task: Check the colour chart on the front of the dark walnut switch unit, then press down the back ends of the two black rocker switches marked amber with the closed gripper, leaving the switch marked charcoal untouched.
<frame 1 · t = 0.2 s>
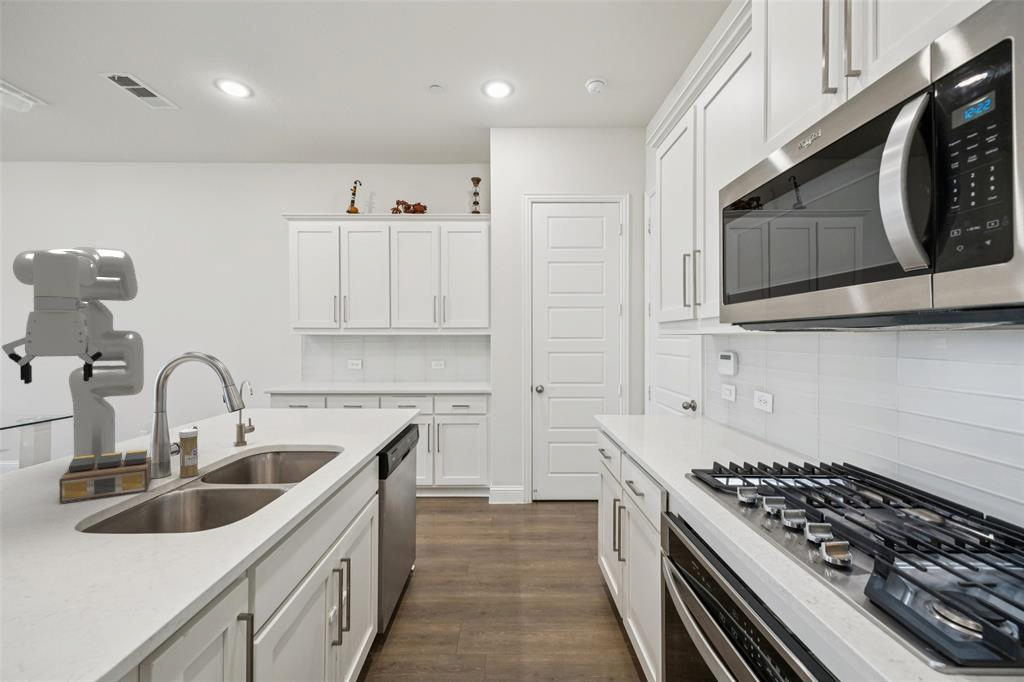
hand: (58, 382, 108), 31 cm above the countertop, tool pointing down, fingers open, 9 cm apart
sprinkles bottle: (188, 476, 140), on the countertop
rocker 1: (82, 464, 125), point 7 cm above the countertop, hinge at 10.0°
switch unit: (109, 489, 127), on the countertop
rocker 2: (109, 461, 128), point 7 cm above the countertop, hinge at 10.0°
rocker 3: (135, 458, 131), point 7 cm above the countertop, hinge at 10.0°
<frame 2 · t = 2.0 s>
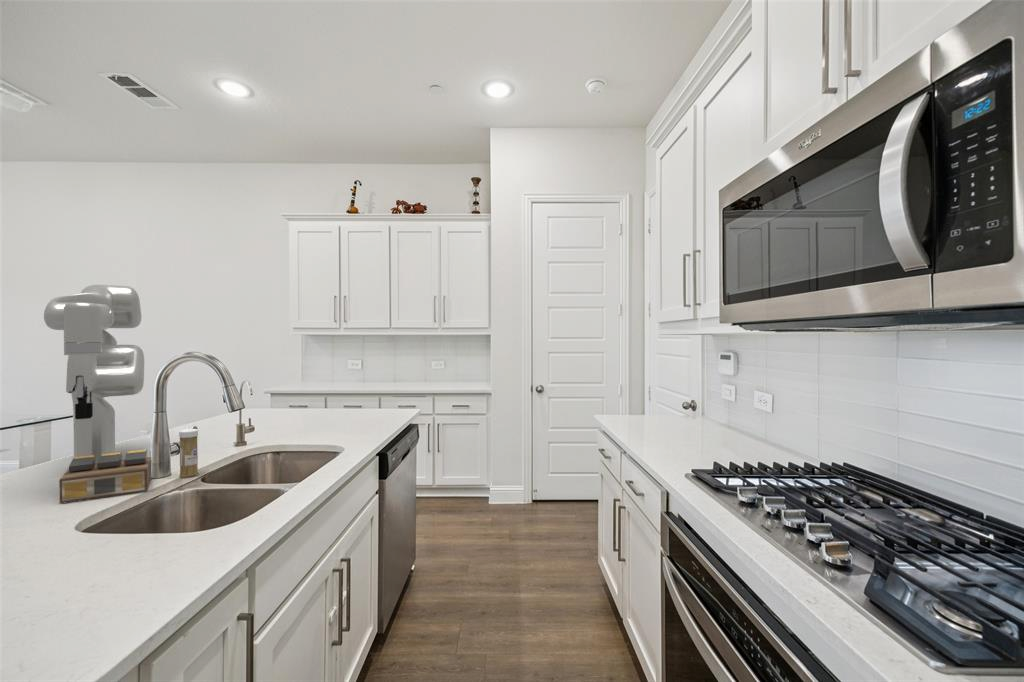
hand: (84, 418, 127), 19 cm above the countertop, tool pointing down, fingers closed
nothing on the countertop moved.
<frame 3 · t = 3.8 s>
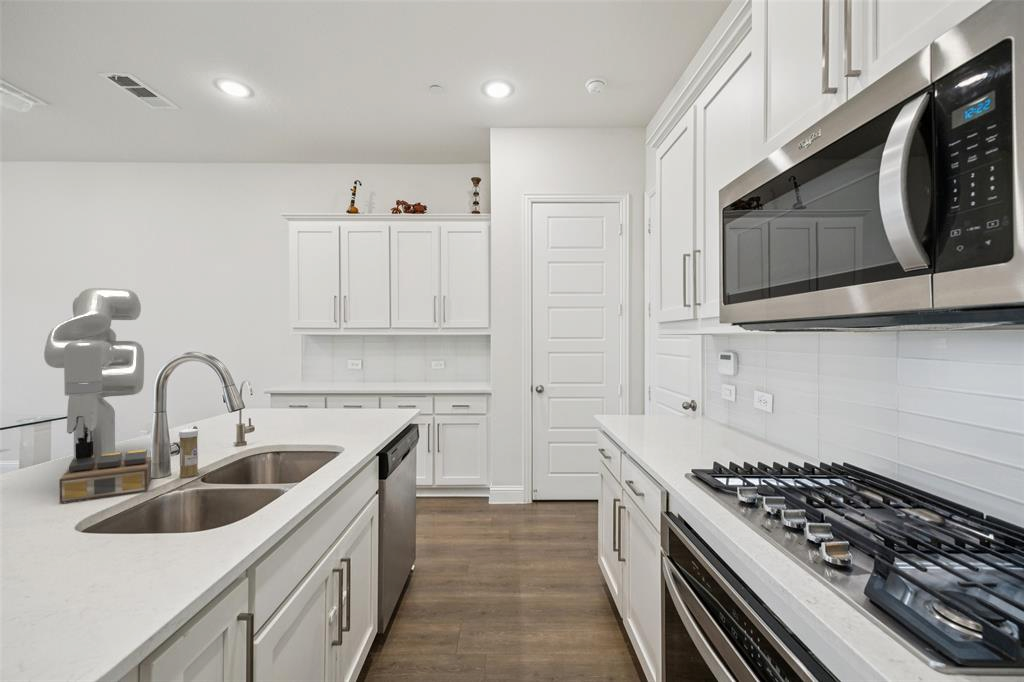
hand: (84, 456, 127), 9 cm above the countertop, tool pointing down, fingers closed
rocker 1: (82, 464, 125), point 7 cm above the countertop, hinge at 8.4°, touching gripper
everything else where it was.
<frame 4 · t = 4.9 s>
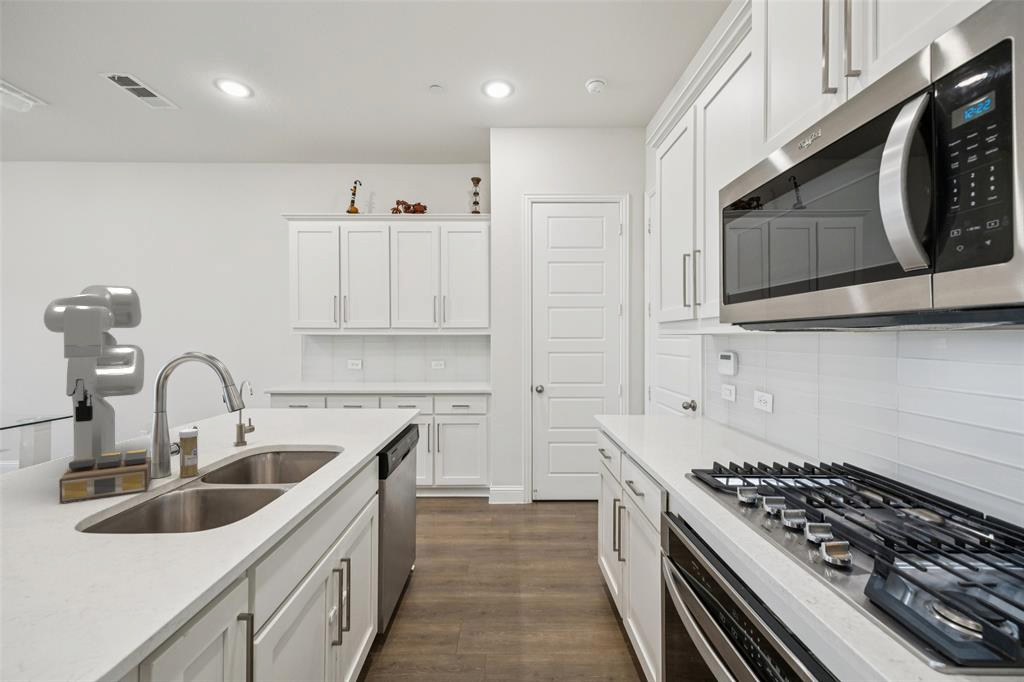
hand: (84, 420, 127), 18 cm above the countertop, tool pointing down, fingers closed
rocker 1: (82, 464, 125), point 7 cm above the countertop, hinge at -6.6°
everything else where it was.
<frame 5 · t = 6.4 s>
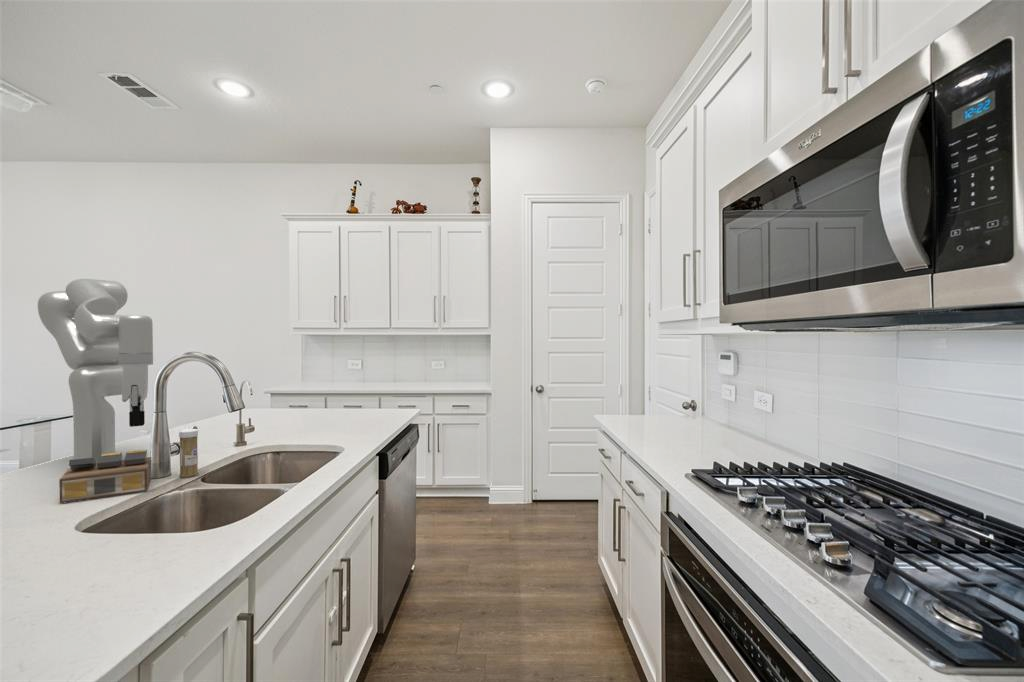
hand: (137, 425, 133), 16 cm above the countertop, tool pointing down, fingers closed
rocker 1: (82, 464, 125), point 7 cm above the countertop, hinge at -19.7°, touching switch unit
everything else where it was.
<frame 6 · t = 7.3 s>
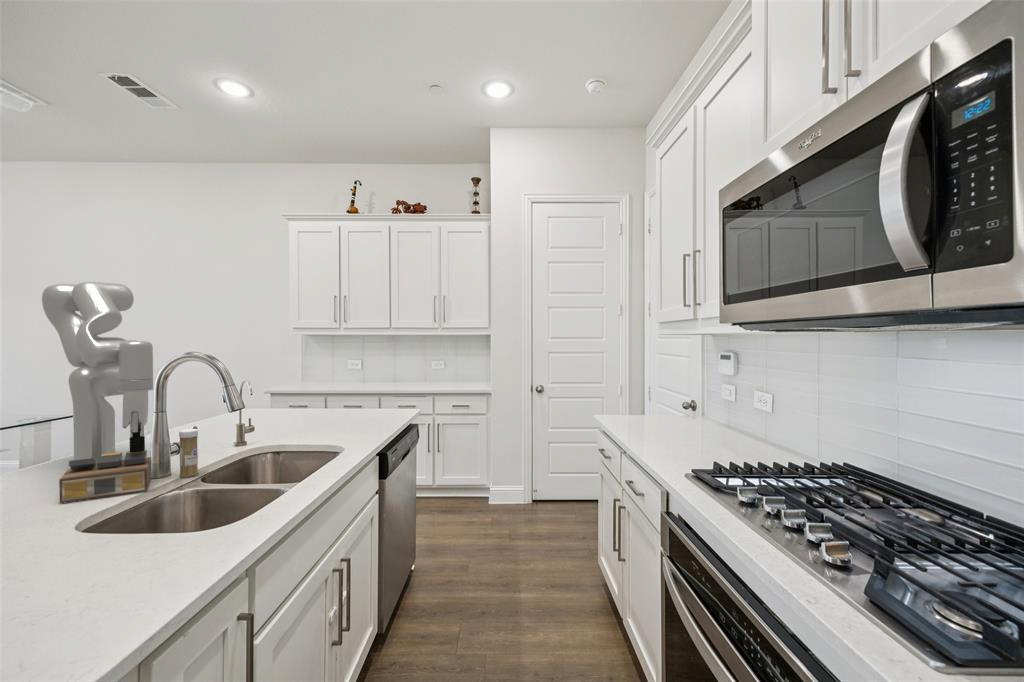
hand: (137, 451, 133), 9 cm above the countertop, tool pointing down, fingers closed
rocker 1: (82, 464, 125), point 7 cm above the countertop, hinge at -16.2°
rocker 3: (135, 458, 131), point 7 cm above the countertop, hinge at 10.0°, touching gripper
everything else where it was.
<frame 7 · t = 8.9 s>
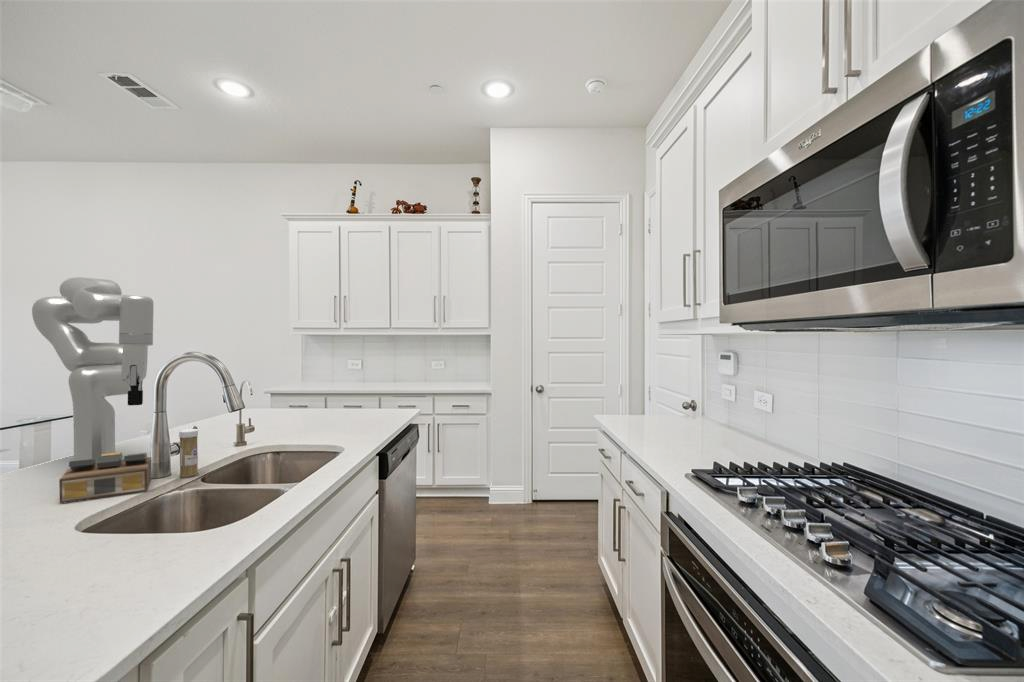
hand: (135, 404, 135), 22 cm above the countertop, tool pointing down, fingers closed
rocker 1: (82, 464, 125), point 7 cm above the countertop, hinge at -12.1°
rocker 3: (135, 458, 131), point 7 cm above the countertop, hinge at -10.0°
everything else where it was.
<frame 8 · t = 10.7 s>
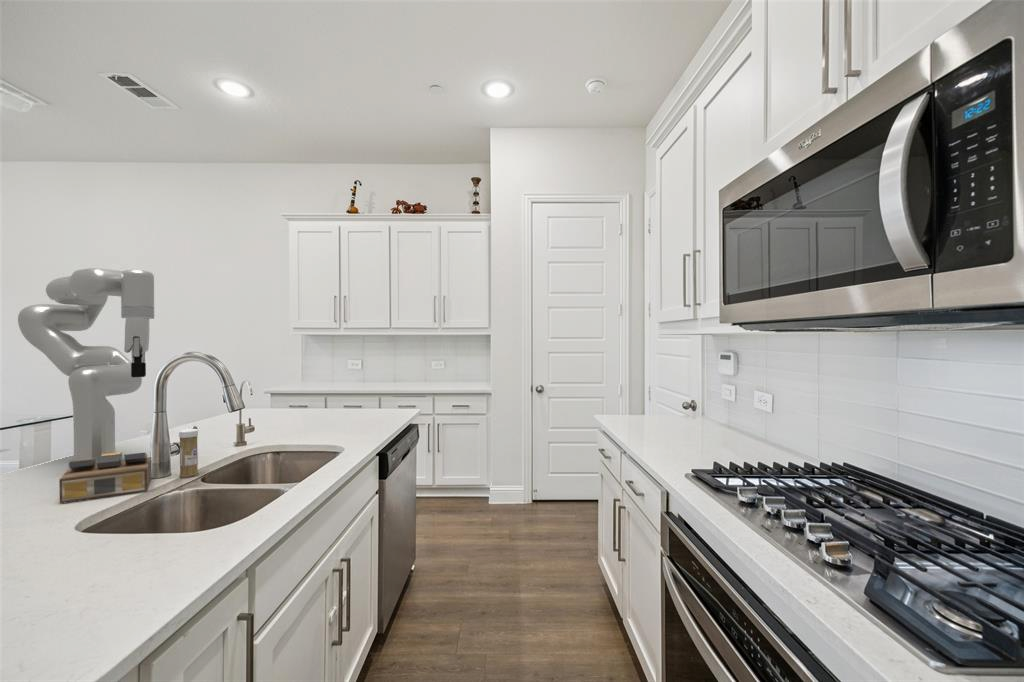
hand: (138, 376, 138), 29 cm above the countertop, tool pointing down, fingers closed
rocker 1: (82, 464, 125), point 7 cm above the countertop, hinge at -9.7°
rocker 3: (135, 458, 131), point 7 cm above the countertop, hinge at -17.2°
everything else where it was.
at the end: rocker 1 at -10° (first picture: +10°); rocker 3 at -17° (first picture: +10°); rocker 2 at +10° (first picture: +10°) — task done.
